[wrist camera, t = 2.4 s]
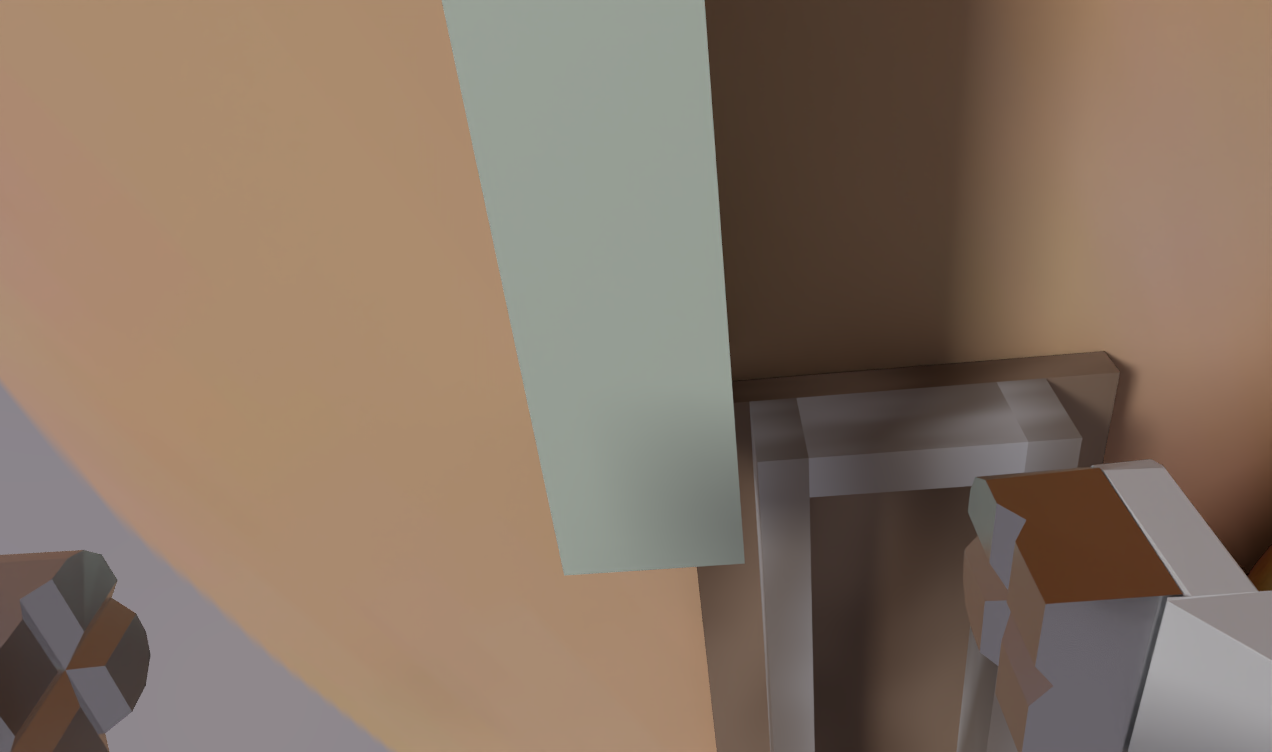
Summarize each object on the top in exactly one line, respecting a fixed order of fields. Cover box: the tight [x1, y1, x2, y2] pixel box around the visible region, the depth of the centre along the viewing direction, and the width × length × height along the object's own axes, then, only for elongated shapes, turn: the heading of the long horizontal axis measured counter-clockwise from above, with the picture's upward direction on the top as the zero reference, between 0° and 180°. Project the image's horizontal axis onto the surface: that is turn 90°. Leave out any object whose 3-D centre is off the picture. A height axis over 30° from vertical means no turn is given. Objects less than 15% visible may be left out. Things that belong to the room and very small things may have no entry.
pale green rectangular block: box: [442, 0, 745, 575], centre depth 18 cm, size 4×14×8 cm, turn 6°
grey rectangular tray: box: [697, 351, 1120, 752], centre depth 29 cm, size 11×20×4 cm, turn 7°
